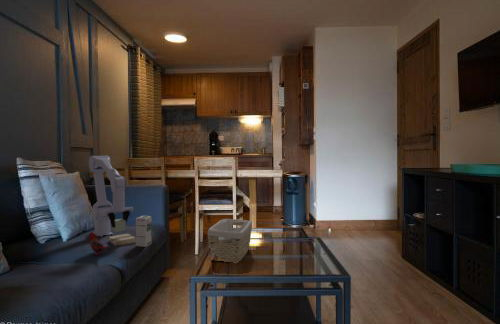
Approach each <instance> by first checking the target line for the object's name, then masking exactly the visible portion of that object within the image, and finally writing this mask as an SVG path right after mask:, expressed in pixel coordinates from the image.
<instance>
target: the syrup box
mask: <svg viewBox="0 0 500 324" xmlns="http://www.w3.org/2000/svg"><path fill="white" fill-rule="evenodd" d="M152 222H153V221H152V216H150V215H141V216H139V217H136V218H135V234H136V235H135V236H136V237H135V242H136V247H143V248H145V247H147V248H148V246H150V245H151V244H152V243H153V230H152V229H153V228H152V227H153V225H152Z"/></svg>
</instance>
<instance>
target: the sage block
mask: <svg viewBox="0 0 500 324" xmlns="http://www.w3.org/2000/svg"><path fill="white" fill-rule="evenodd" d="M111 228H112V231H114V232H121V231H126V228H127V222H126V220H124V219H123V218H117V219H116V218H115V228H113V227H112V226H111Z"/></svg>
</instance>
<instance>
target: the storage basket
mask: <svg viewBox="0 0 500 324" xmlns="http://www.w3.org/2000/svg"><path fill="white" fill-rule="evenodd" d="M233 226H239V227H236V228H233ZM252 229H253V221H252V220H247V219H233V218H222V219H220V220H218V222H216V223H215V224H214V225H212V226H210V227H209V228H208V230H207V241H208V249H209V248H210V249H211V251H212V252H213V253H214V254H215V255H216V256H218V257H219V258H221V259H224V260H226V261H229V262H239V261H242V259H243V258H244V257H245V256H246V255H247V253H248V252H249V250H250V243H251V235H252ZM248 249H249V250H248ZM239 263H240V262H239Z"/></svg>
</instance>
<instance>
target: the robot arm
mask: <svg viewBox="0 0 500 324" xmlns="http://www.w3.org/2000/svg"><path fill="white" fill-rule="evenodd" d="M88 166H89V171H90V172H92V175H93V179H94V180H93V182H94V187H95V195H96V203H94V204H93V205H92V217H93V218H94V219H95V220H94V231H93V233H94V234H95V235H96V237H98V236H100V237H104V236H103V235H106V236H111V234H112V235H114V233H113V232H112V231H111V228H112V227H113V228H115V219H116V215H115V214H118V213H119V214H120V213H122V219H124V220H126V223H127V222H128V219H129V216H130V215H131V212H134V207H133V206H128V207H127V206H125V204H126V200H125V191H126V189H125V188H126V187H127V184H128V182H127V178H126V176H122V175H120V174H121V173H119V172H118V170H117V169H116V168H114V167H112V164H111V157H110V156H109V155H90V156H89V159H88ZM105 172H106V173H105ZM104 173H105V175H106V177H107V178H108V180H109V181H110V188H111V189H110V191H111V192H112V202H110V201H109V200H108V199H107V193H106V186H105V185H106V184H105V178H104Z"/></svg>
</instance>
